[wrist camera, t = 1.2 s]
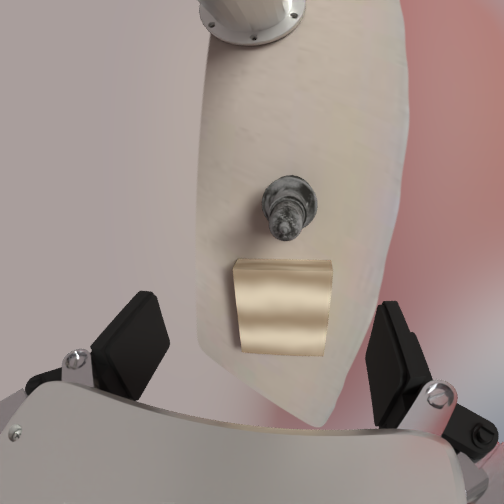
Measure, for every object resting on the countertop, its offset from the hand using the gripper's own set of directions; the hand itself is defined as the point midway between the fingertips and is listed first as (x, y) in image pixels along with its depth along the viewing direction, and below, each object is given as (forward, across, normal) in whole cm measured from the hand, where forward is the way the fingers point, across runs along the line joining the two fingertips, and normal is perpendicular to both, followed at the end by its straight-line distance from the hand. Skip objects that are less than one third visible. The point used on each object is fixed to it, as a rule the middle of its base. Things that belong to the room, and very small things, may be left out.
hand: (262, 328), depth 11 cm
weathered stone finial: (+23, 0, 0) cm, 23 cm away
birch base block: (+23, +1, +15) cm, 28 cm away
